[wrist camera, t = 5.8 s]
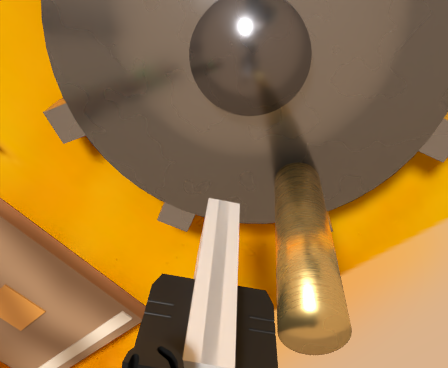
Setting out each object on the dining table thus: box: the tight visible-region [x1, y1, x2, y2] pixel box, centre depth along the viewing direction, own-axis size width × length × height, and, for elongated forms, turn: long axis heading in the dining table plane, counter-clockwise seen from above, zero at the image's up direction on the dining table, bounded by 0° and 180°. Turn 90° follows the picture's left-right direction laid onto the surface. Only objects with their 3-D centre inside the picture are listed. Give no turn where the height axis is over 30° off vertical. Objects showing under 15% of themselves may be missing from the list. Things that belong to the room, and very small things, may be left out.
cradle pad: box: [0, 198, 146, 368], centre depth 26 cm, size 12×12×1 cm
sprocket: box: [41, 0, 448, 355], centre depth 13 cm, size 19×19×10 cm
